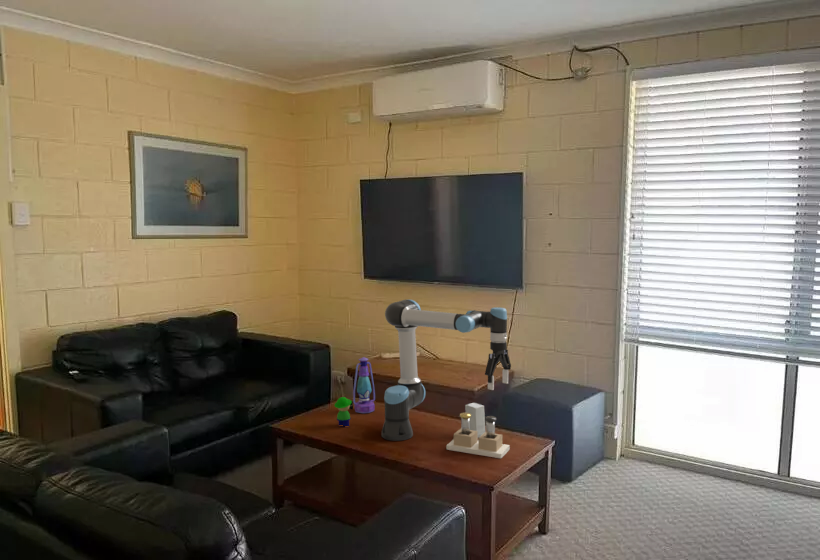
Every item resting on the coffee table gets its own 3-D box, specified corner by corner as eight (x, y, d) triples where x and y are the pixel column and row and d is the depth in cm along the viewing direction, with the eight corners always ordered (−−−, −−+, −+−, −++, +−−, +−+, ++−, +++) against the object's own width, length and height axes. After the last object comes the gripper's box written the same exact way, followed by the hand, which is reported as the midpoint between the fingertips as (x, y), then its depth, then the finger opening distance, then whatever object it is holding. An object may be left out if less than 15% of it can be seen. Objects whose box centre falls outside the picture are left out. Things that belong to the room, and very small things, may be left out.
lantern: (369, 406, 352) (368, 354, 349) (380, 411, 342) (379, 357, 339) (348, 410, 345) (347, 357, 342) (358, 415, 335) (357, 360, 332)
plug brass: (458, 435, 284) (458, 415, 284) (462, 431, 289) (462, 412, 288) (468, 436, 282) (468, 416, 281) (472, 433, 287) (472, 413, 286)
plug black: (483, 439, 279) (483, 418, 278) (487, 435, 284) (486, 415, 283) (494, 440, 277) (494, 420, 276) (497, 437, 281) (497, 416, 281)
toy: (355, 424, 320) (355, 396, 319) (345, 429, 313) (344, 400, 312) (342, 421, 325) (341, 393, 324) (331, 426, 318) (330, 397, 316)
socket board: (446, 449, 284) (446, 434, 283) (456, 441, 295) (456, 426, 294) (501, 458, 272) (501, 442, 272) (509, 449, 283) (509, 434, 282)
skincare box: (485, 435, 301) (485, 405, 300) (476, 438, 298) (475, 408, 297) (474, 431, 308) (474, 401, 307) (465, 433, 305) (464, 403, 304)
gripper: (491, 346, 276) (491, 393, 278) (518, 337, 295) (518, 381, 297) (477, 344, 280) (477, 390, 282) (504, 336, 300) (504, 379, 302)
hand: (498, 386), depth 290 cm, fingers open, 13 cm apart
